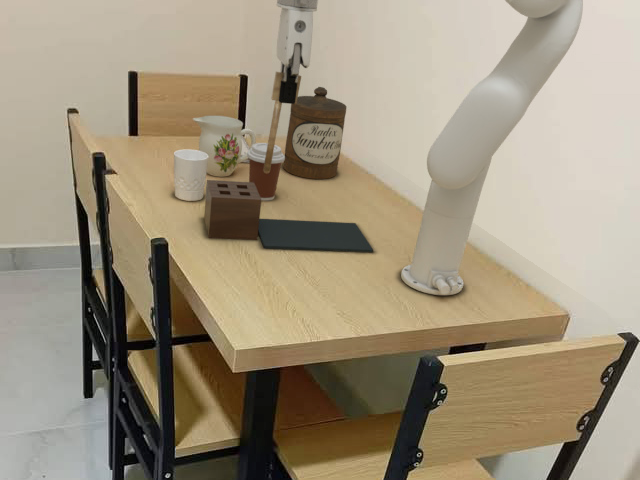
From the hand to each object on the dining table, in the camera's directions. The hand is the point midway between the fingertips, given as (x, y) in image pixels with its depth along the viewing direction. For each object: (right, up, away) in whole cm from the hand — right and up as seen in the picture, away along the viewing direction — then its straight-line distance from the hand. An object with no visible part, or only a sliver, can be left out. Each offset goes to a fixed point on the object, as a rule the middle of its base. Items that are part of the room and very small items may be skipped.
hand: (286, 101), depth 146 cm
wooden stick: (-4, -12, +7) cm, 15 cm away
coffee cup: (-6, -11, +35) cm, 37 cm away
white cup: (-23, -13, +29) cm, 39 cm away
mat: (+6, -24, +17) cm, 30 cm away
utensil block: (-12, -23, +15) cm, 30 cm away
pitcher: (-16, -2, +47) cm, 50 cm away
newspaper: (-16, +8, +64) cm, 67 cm away
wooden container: (+7, +1, +57) cm, 57 cm away
